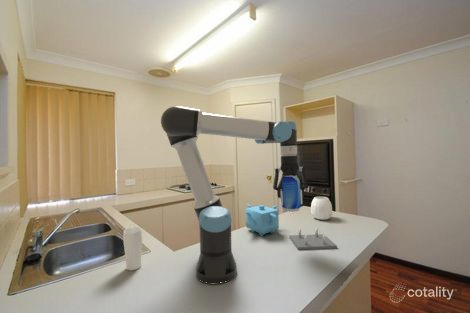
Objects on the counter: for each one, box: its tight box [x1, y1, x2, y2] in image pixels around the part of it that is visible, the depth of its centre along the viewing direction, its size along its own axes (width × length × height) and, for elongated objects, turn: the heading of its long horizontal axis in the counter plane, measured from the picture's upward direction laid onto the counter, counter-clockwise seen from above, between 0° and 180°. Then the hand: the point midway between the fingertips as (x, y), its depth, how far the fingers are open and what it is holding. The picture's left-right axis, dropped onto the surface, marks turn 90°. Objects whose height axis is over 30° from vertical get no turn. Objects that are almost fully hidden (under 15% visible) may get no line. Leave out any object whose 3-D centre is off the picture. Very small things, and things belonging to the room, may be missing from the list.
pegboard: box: [288, 228, 338, 251], centre depth 106 cm, size 18×14×5 cm
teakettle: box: [243, 203, 280, 237], centre depth 122 cm, size 19×19×15 cm
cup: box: [310, 196, 333, 221], centre depth 143 cm, size 13×13×14 cm
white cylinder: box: [122, 226, 143, 271], centre depth 86 cm, size 7×7×15 cm
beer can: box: [281, 174, 302, 212], centre depth 101 cm, size 8×8×16 cm
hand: (291, 204), depth 101 cm, fingers closed on beer can, 8 cm apart
